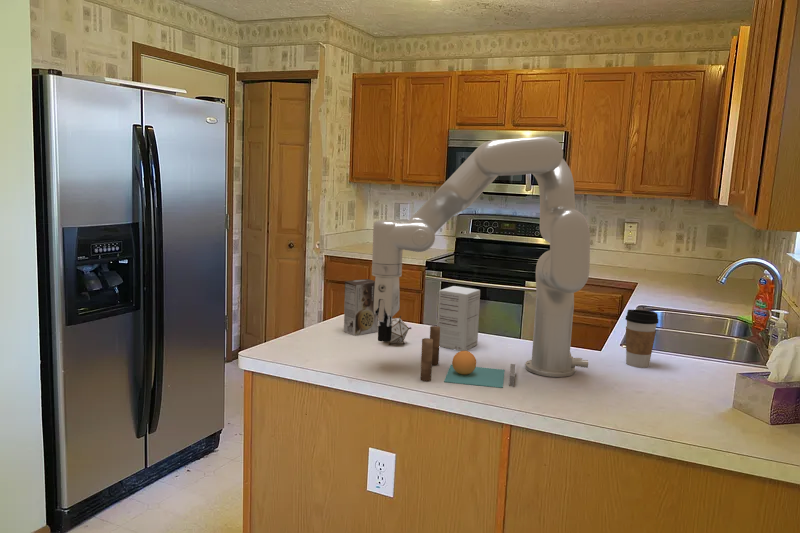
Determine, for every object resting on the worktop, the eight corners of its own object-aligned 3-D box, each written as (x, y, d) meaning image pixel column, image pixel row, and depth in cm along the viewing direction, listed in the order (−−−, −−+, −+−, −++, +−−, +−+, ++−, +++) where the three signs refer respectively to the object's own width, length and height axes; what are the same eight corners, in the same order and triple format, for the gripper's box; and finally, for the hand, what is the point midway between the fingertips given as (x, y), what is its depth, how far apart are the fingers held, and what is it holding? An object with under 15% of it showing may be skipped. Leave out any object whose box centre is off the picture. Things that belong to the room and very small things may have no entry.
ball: (463, 375, 157) (481, 362, 155) (460, 382, 151) (480, 368, 149) (448, 356, 157) (467, 343, 155) (446, 363, 151) (465, 349, 150)
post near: (431, 378, 149) (433, 338, 148) (430, 381, 147) (432, 341, 145) (421, 377, 150) (423, 337, 148) (419, 380, 147) (421, 340, 146)
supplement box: (450, 339, 187) (453, 285, 184) (478, 344, 182) (481, 289, 179) (435, 346, 178) (438, 289, 176) (464, 351, 174) (467, 293, 171)
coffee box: (366, 327, 197) (367, 278, 195) (378, 332, 192) (380, 281, 190) (342, 331, 191) (344, 280, 189) (354, 336, 187) (356, 284, 184)
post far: (439, 363, 162) (440, 326, 161) (437, 366, 160) (439, 328, 158) (429, 362, 163) (431, 325, 161) (427, 365, 160) (429, 327, 159)
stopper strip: (514, 373, 155) (515, 364, 155) (514, 386, 146) (514, 376, 145) (509, 373, 156) (510, 363, 155) (508, 385, 146) (509, 375, 146)
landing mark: (504, 370, 158) (504, 369, 158) (502, 388, 144) (502, 387, 144) (450, 365, 161) (450, 364, 161) (443, 382, 147) (443, 381, 147)
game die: (399, 357, 179) (410, 335, 173) (372, 346, 179) (383, 324, 172) (406, 336, 186) (417, 314, 180) (380, 325, 186) (390, 303, 179)
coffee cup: (614, 361, 169) (619, 308, 167) (636, 358, 173) (641, 306, 171) (638, 370, 162) (644, 315, 160) (660, 367, 166) (666, 313, 164)
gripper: (395, 275, 145) (392, 349, 148) (407, 266, 160) (404, 334, 162) (364, 273, 147) (362, 347, 149) (379, 264, 161) (377, 332, 164)
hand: (384, 340), depth 156 cm, fingers closed
